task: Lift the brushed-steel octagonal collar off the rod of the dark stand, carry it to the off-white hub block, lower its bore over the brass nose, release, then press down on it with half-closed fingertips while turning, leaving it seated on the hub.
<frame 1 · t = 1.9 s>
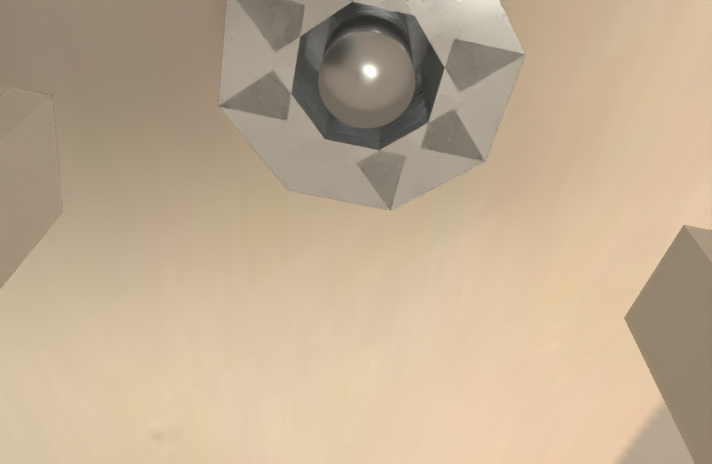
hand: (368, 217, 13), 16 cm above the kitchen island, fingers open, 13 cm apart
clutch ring: (368, 41, 22), point 5 cm above the kitchen island, touching stand
stand: (369, 5, 26), on the kitchen island
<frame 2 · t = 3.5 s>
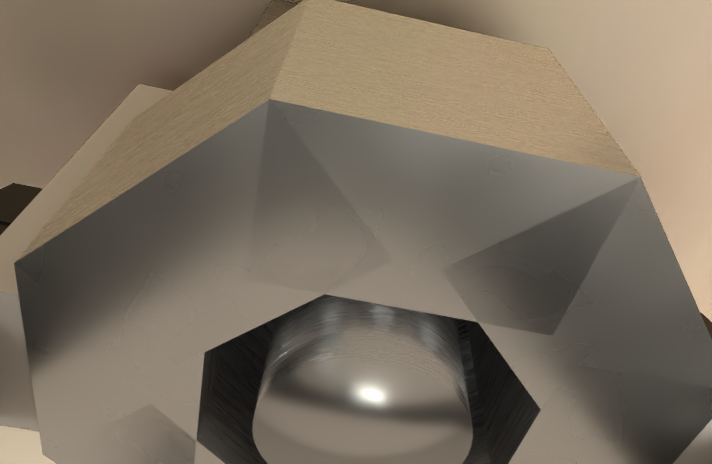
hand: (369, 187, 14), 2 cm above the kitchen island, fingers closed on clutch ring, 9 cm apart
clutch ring: (367, 253, 12), point 5 cm above the kitchen island, touching gripper, stand
stand: (371, 139, 16), on the kitchen island
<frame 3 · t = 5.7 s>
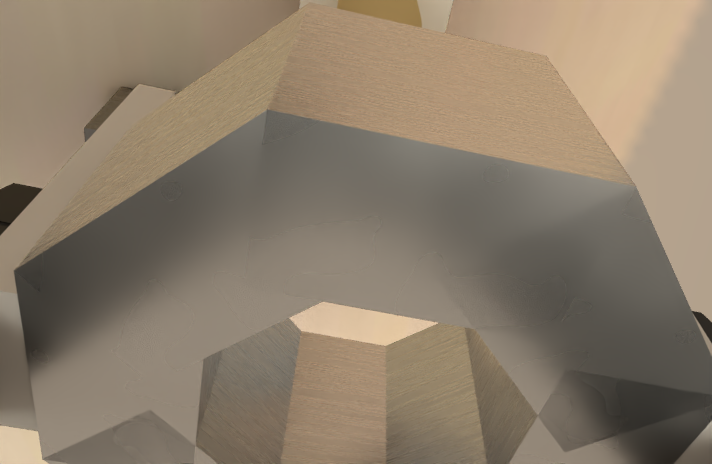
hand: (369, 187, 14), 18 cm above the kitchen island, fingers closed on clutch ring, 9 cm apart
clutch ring: (366, 258, 12), point 20 cm above the kitchen island, touching gripper
stand: (178, 147, 33), on the kitchen island
when the fingers open (4 cm above the kitchen island, at t = 8.0 s): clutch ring drops 1 cm, resting on hub.
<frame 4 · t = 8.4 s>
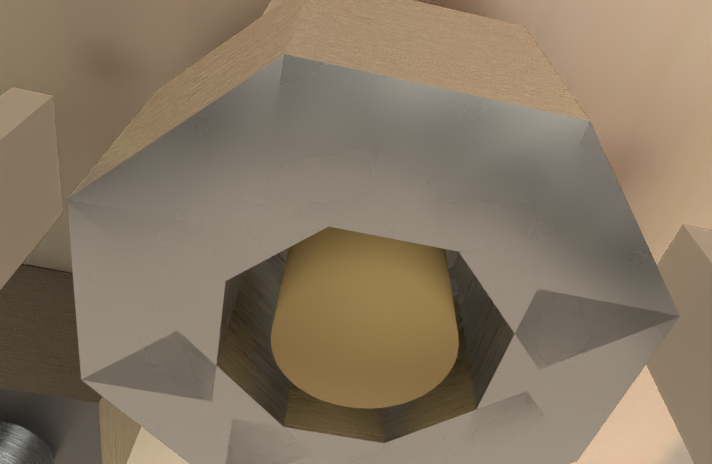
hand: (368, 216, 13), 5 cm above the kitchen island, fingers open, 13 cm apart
hub: (371, 116, 17), on the kitchen island
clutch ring: (365, 214, 13), point 5 cm above the kitchen island, touching hub
stand: (72, 333, 22), on the kitchen island
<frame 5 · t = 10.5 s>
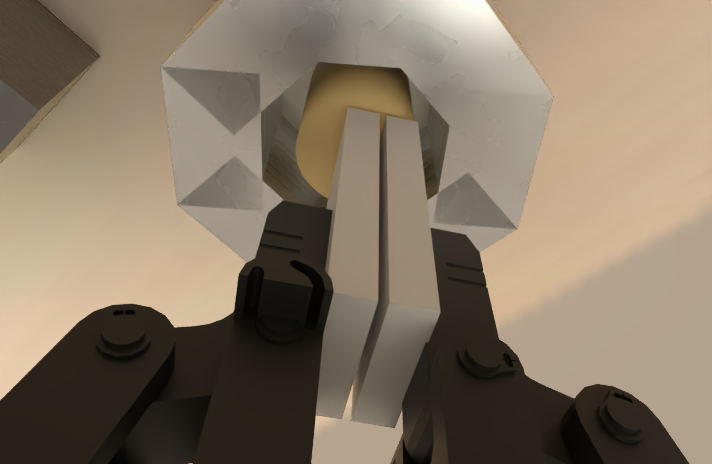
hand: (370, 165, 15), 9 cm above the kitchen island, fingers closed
hub: (362, 39, 22), on the kitchen island
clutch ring: (356, 91, 18), point 5 cm above the kitchen island, touching hub
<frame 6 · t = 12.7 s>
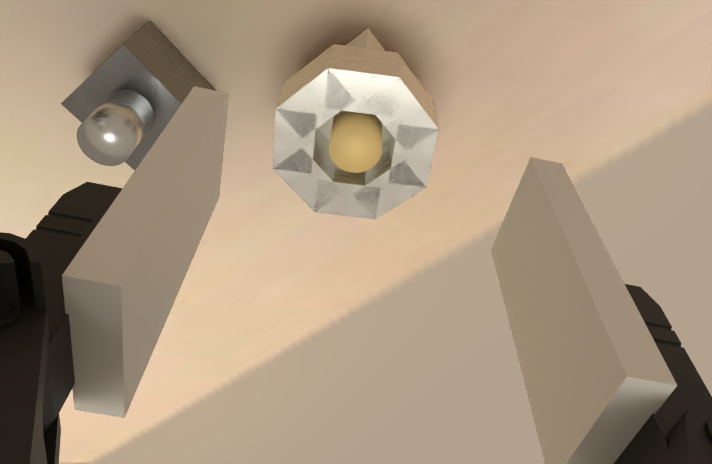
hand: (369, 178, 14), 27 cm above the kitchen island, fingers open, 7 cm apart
hub: (360, 89, 41), on the kitchen island
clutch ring: (356, 120, 37), point 5 cm above the kitchen island, touching hub
stand: (154, 83, 41), on the kitchen island
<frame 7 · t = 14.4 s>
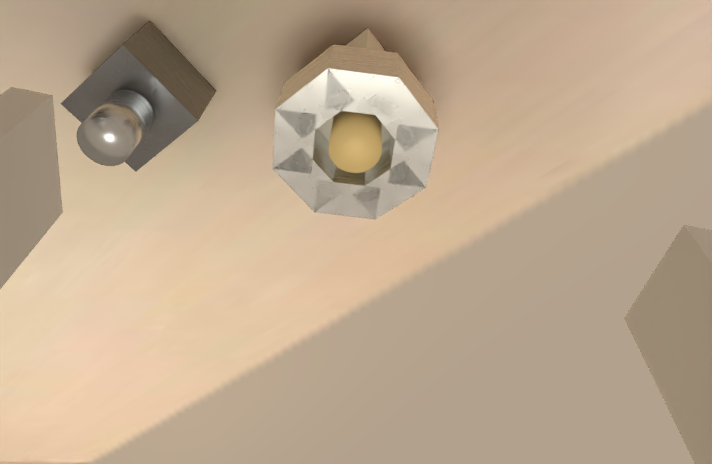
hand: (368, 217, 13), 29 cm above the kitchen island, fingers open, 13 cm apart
hub: (359, 89, 41), on the kitchen island
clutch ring: (355, 120, 37), point 5 cm above the kitchen island, touching hub
stand: (154, 83, 41), on the kitchen island
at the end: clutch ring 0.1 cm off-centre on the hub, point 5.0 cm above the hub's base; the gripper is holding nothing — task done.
